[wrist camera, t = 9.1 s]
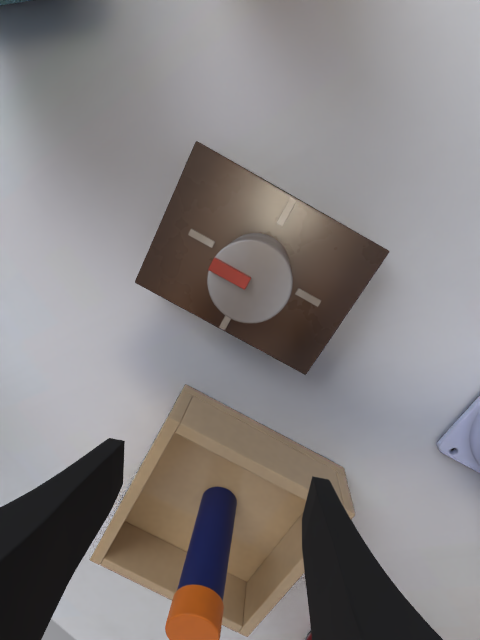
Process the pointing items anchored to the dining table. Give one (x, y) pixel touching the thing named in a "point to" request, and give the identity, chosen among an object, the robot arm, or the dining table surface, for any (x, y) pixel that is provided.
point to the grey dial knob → (250, 278)
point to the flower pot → (11, 1)
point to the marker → (204, 570)
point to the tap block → (270, 219)
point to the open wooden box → (251, 512)
